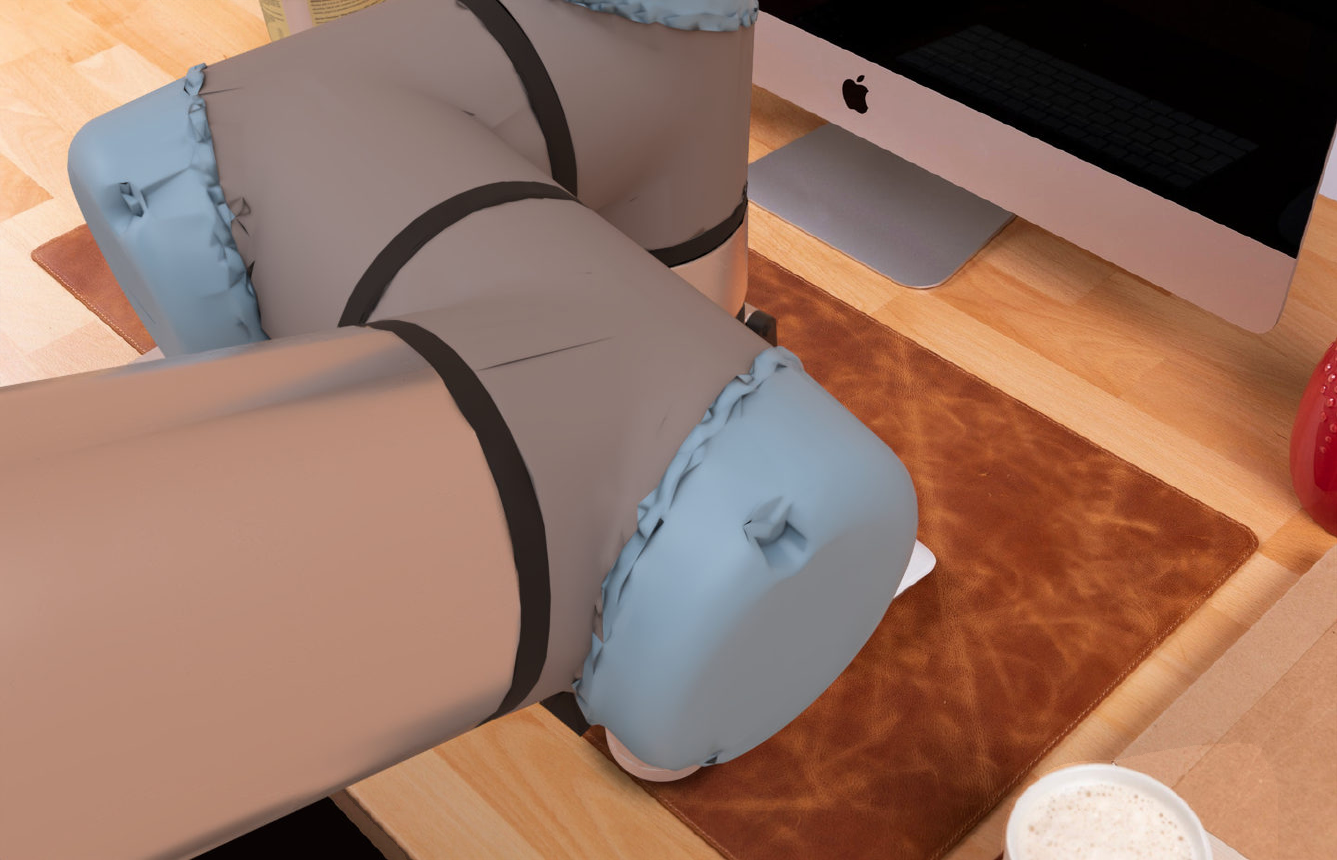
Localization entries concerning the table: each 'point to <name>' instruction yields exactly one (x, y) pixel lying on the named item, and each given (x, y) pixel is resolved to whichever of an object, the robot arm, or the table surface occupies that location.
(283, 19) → the supplement tub
